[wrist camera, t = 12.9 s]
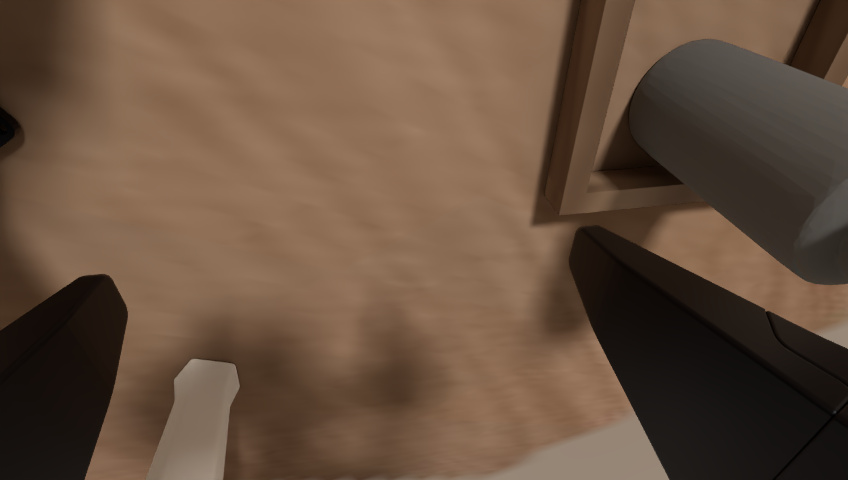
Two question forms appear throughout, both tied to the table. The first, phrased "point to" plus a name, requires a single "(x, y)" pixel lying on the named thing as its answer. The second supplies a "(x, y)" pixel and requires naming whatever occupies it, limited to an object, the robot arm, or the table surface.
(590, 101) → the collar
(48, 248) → the table surface
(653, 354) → the robot arm
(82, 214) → the table surface
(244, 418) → the table surface
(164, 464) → the perfume bottle
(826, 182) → the bottle
